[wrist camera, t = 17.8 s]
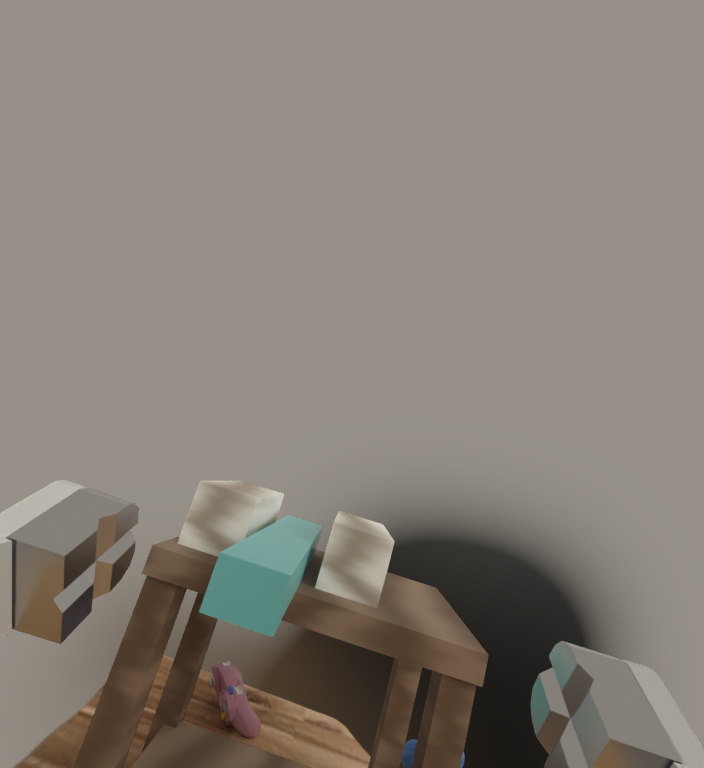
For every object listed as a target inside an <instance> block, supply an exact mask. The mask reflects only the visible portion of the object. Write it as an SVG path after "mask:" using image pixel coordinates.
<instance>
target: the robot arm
mask: <svg viewBox="0 0 704 768" xmlns="http://www.w3.org/2000/svg"><path fill="white" fill-rule="evenodd" d="M138 510H139V508H138V507H137V506H136V505H135V504H134V503H131V502H128V501H126V500H123V499H120V498H117V497H114V496H111V495H108V494H106V493H103V492H100V491H97V490H94V489H91V488H86V487H84V486H81V485H78V484H75V483H73V482H70V481H67V480H60V481H55V482H53V483H51V484H49V485H48V486H46V487H44V488H43V489H41V490H39V491H38V492H36V493H34V494H32V495H31V496H29V497H27V498H25V499H24V500H22V501H20V502H19V503H17V504H15V505H13V506H12V507H10V508H8V509H7V510H5V511H3V512H2V513H0V638H1V637H3V636H5V635H7V634H9V633H11V632H12V629H14V630H18V631H21V632H24V633H27V634H30V635H33V636H37V637H40V638H43V639H46V640H49V641H53V642H56V643H59V644H61V643H62V642H63V641H64V640H65V639H66V638H67V636H69V635H70V634H71V632H72V631H73V630H74V629H75V628H76V627H77V626H78V625H79V624H80V623H81V622H82V621H83V620H84V619H85V618H86V617H87V616H88V615H89V614H90V612H91V610H92V600H93V599H94V598H96V597H98V596H101V595H104V594H106V593H108V592H110V591H111V590H112V589H113V588H114V587H115V586H116V585H117V583H118V582H119V581H120V580H121V579H122V577H123V575H124V574H125V572H126V570H127V569H128V567H129V565H130V563H131V560H132V557H133V554H134V551H135V542H136V541H135V539H134V537H133V535H132V534H131V532H130V529H131V528H132V527H133V526H135V525H136V524H137V523H138ZM549 657H550V660H551V663H552V667H553V668H551V669H549V670H547V671H544V672H542V673H540V674H539V676H538V678H537V680H536V682H535V684H534V686H533V690H532V699H531V714H532V721H533V725H534V730H535V734H536V737H537V738H538V739H539V741H540V742H541V744H542V745H543V746H544V747H545V749H546V750H547V752H548V753H549V757H548V759H547V762H546V764H545V768H704V749H703V747H702V746H701V744H700V742H699V741H698V739H697V737H696V736H695V734H694V733H693V731H692V729H691V728H690V726H689V724H688V723H687V721H686V720H685V718H684V716H683V715H682V713H681V711H680V710H679V708H678V707H677V705H676V703H675V702H674V700H673V698H672V697H671V695H670V693H669V692H668V690H667V689H666V687H665V685H664V684H663V682H662V680H661V679H660V677H659V676H658V675H657V674H656V673H655V672H654V671H653V670H652V669H651V668H649V667H646V666H643V665H640V664H636V663H633V662H630V661H626V660H623V659H617V658H614V657H611V656H608V655H605V654H602V653H599V652H596V651H592V650H589V649H586V648H583V647H579V646H576V645H573V644H570V643H567V642H563V641H561V642H559V643H558V644H556V645H555V646H554V648H553V650H552V652H551V653H550V655H549Z"/></svg>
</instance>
